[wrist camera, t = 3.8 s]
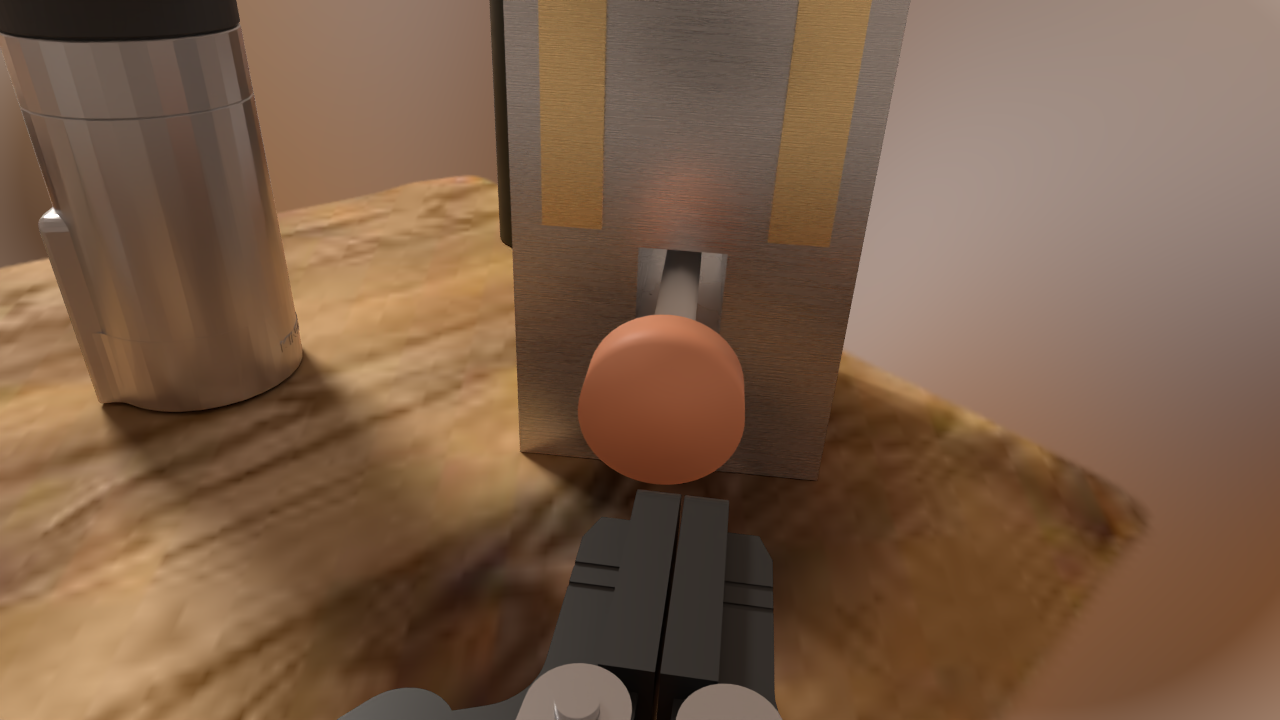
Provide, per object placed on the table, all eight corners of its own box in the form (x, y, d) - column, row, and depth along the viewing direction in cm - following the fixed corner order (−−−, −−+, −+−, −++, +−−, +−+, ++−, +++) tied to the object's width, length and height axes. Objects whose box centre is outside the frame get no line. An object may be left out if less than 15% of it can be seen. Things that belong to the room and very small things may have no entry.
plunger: (735, 492, 26) (754, 352, 23) (577, 476, 26) (578, 337, 24) (735, 306, 38) (747, 200, 35) (626, 297, 38) (631, 192, 36)
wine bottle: (581, 228, 64) (585, -232, 49) (565, 254, 59) (564, -248, 44) (512, 221, 65) (495, -235, 50) (490, 247, 60) (464, -251, 45)
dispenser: (824, 485, 37) (962, -203, 24) (512, 454, 38) (482, -222, 25) (803, 353, 48) (890, -168, 35) (562, 332, 49) (559, -182, 36)
